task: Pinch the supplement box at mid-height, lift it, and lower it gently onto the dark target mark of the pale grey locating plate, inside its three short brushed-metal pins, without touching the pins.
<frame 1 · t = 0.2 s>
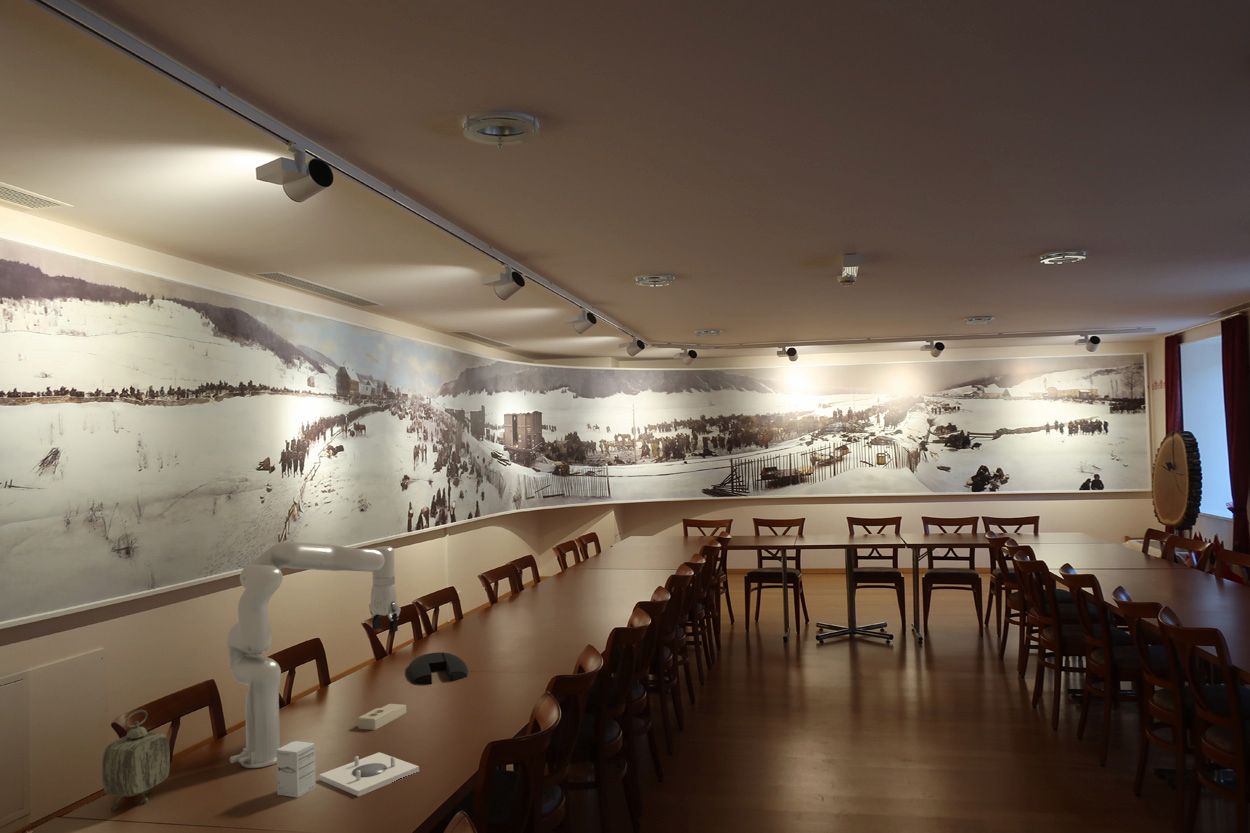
hand: (385, 630, 283), 31 cm above the table, fingers open, 9 cm apart
locating plate: (369, 775, 232), on the table
tabletop clock: (139, 803, 220), on the table
electrical outlet: (382, 722, 280), on the table
docking station: (436, 671, 343), on the table
supplement box: (296, 792, 223), on the table
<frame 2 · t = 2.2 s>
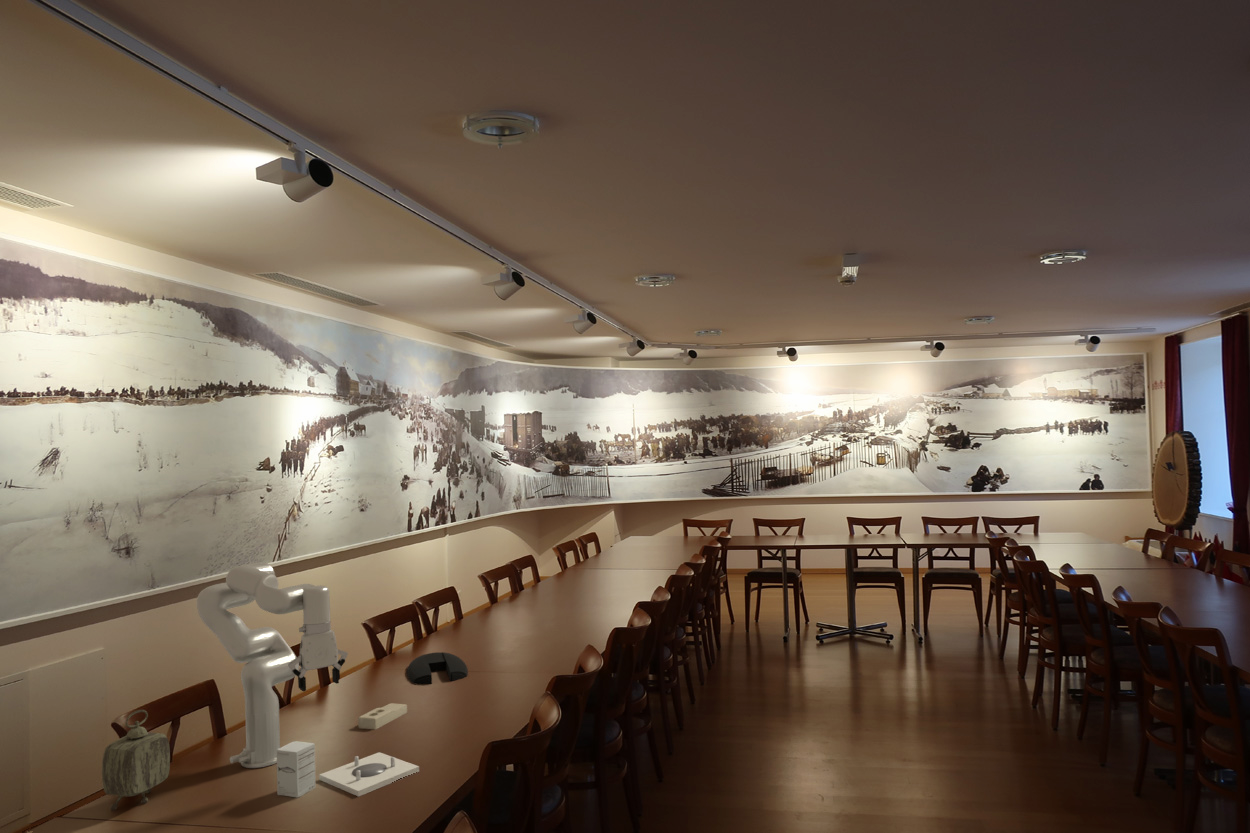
hand: (319, 686, 236), 25 cm above the table, fingers open, 9 cm apart
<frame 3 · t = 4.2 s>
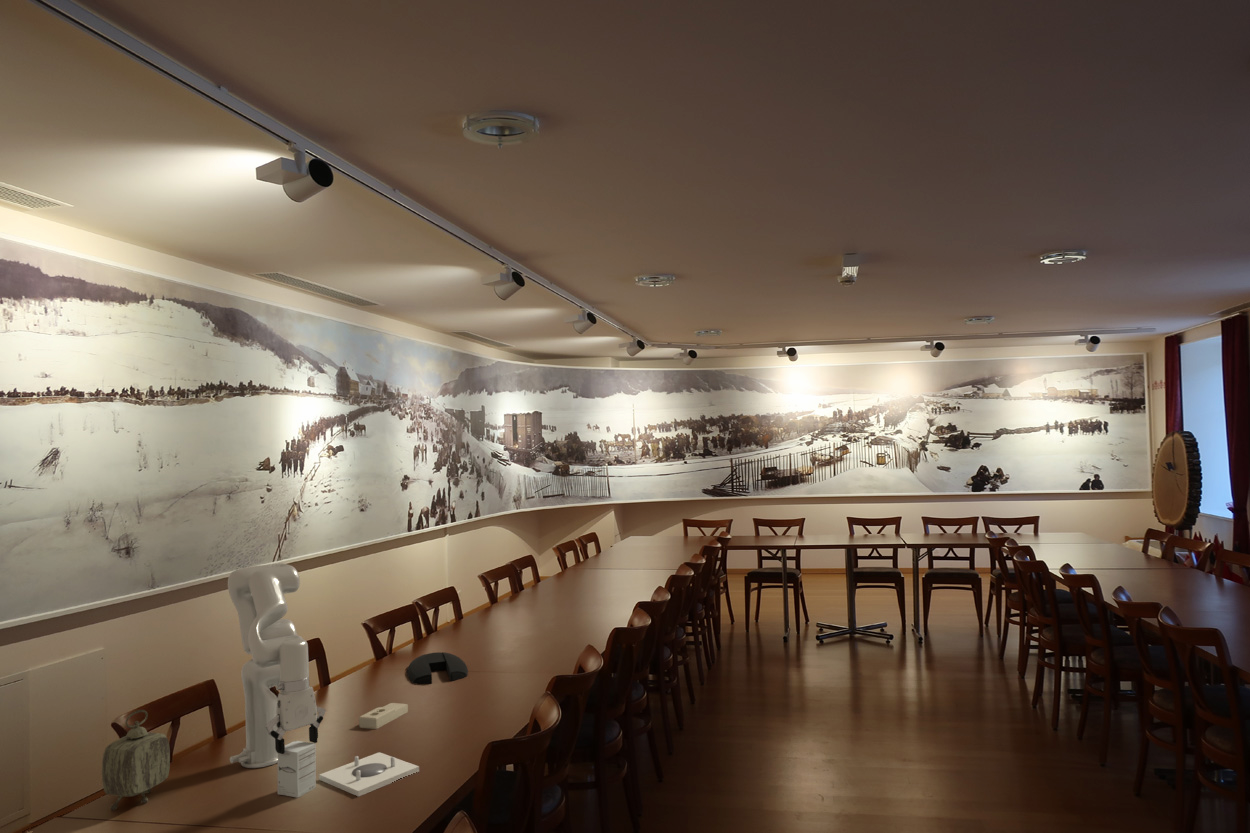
hand: (297, 747, 223), 12 cm above the table, fingers open, 9 cm apart
supplement box: (296, 792, 223), on the table, touching gripper
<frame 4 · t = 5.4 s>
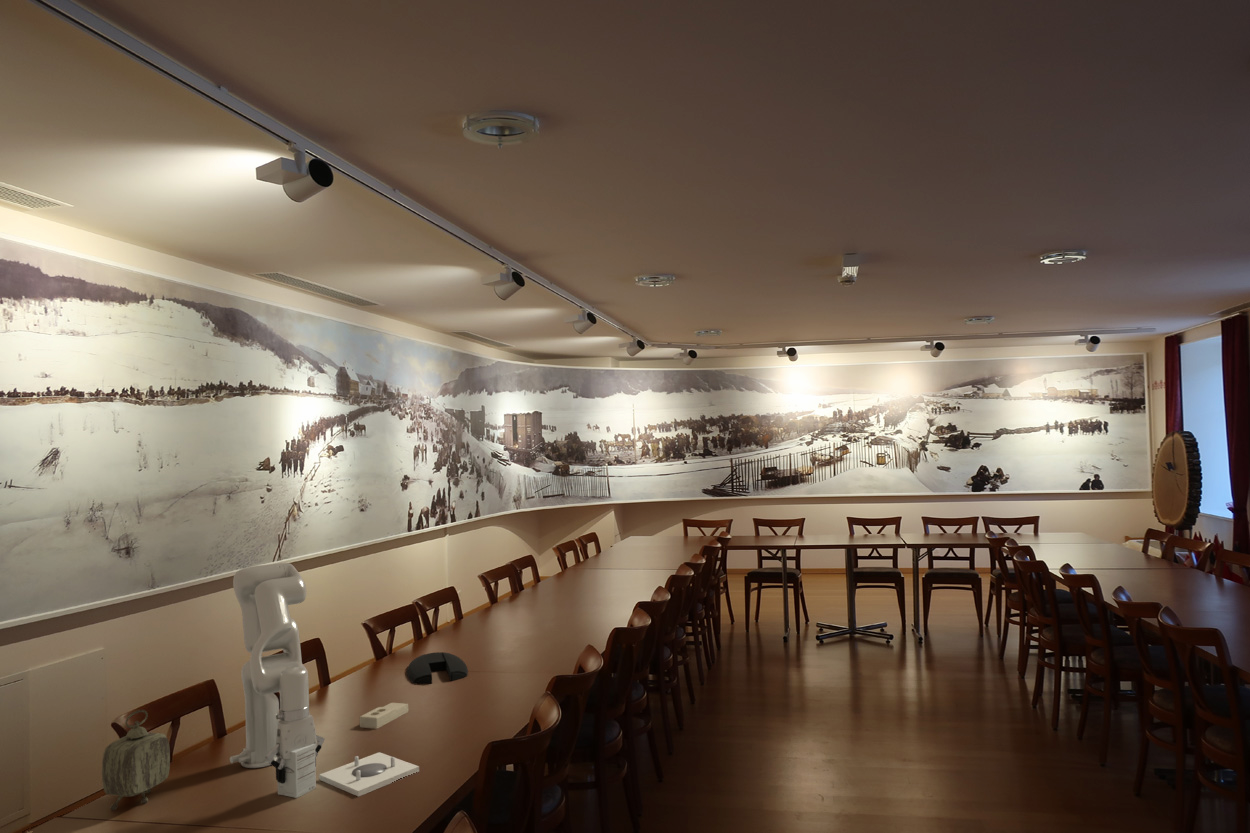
hand: (296, 776, 223), 4 cm above the table, fingers closed on supplement box, 8 cm apart
supplement box: (297, 792, 223), on the table, touching gripper
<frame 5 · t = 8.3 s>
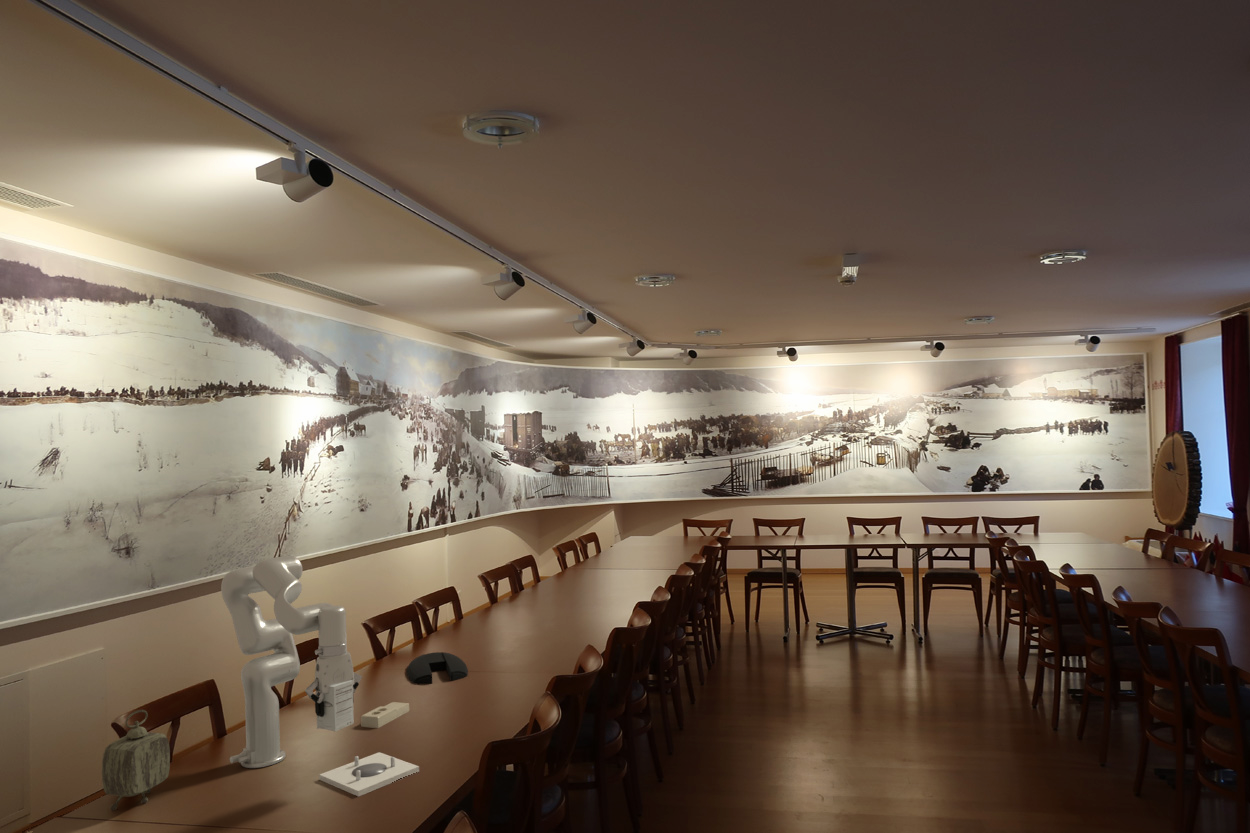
hand: (334, 711, 228), 20 cm above the table, fingers closed on supplement box, 8 cm apart
supplement box: (335, 727, 228), point 16 cm above the table, touching gripper
when the fingers open (7 cm above the table, at t = 11.3 s): supplement box stays where it is, resting on locating plate.
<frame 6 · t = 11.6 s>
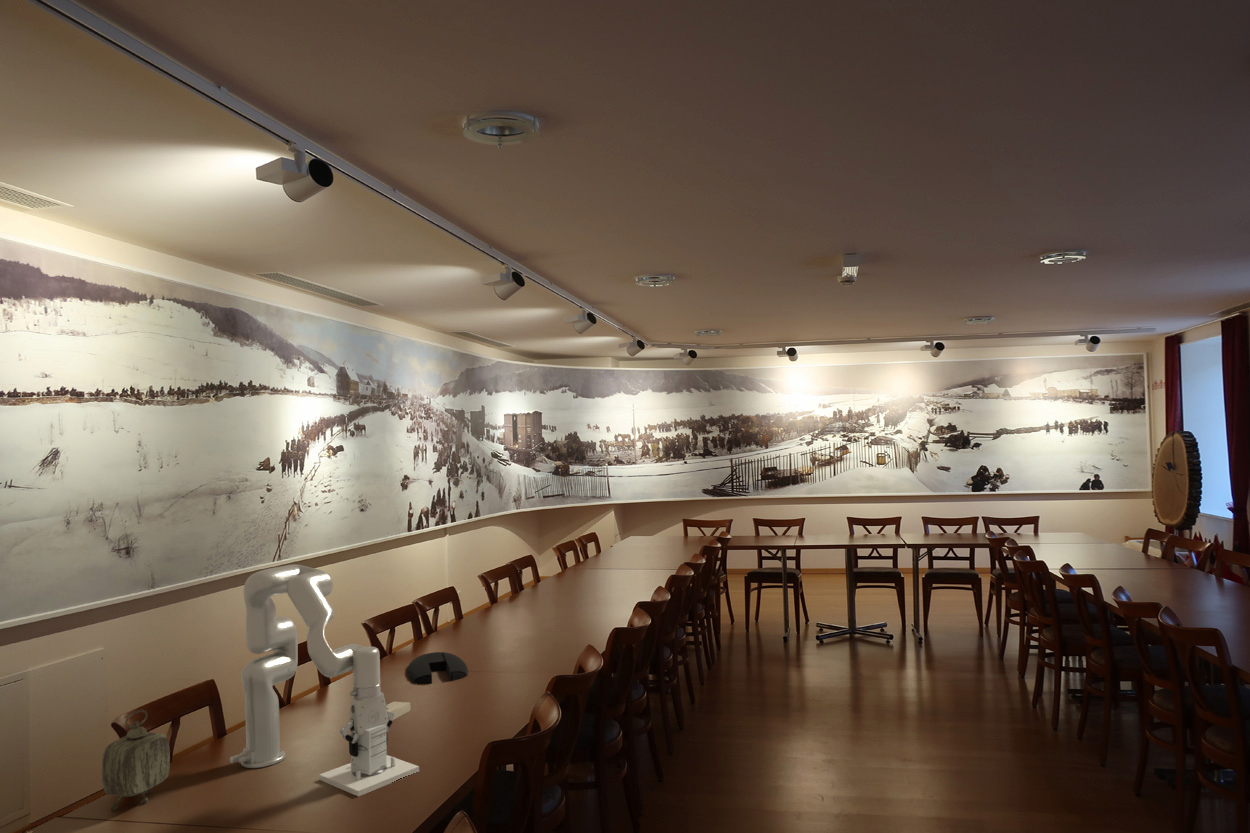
hand: (368, 750, 232), 7 cm above the table, fingers open, 9 cm apart
supplement box: (369, 770, 232), point 2 cm above the table, touching locating plate
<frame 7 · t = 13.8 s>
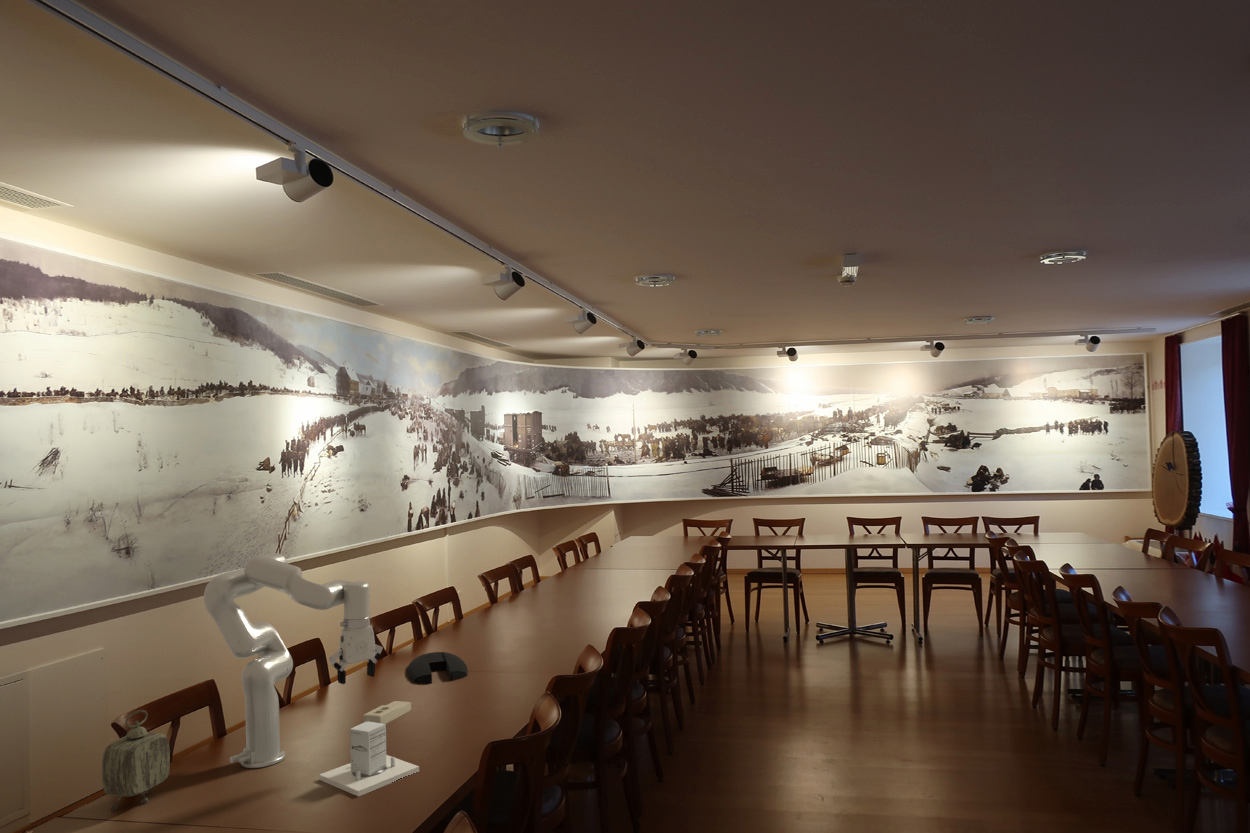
hand: (356, 679, 243), 25 cm above the table, fingers open, 9 cm apart
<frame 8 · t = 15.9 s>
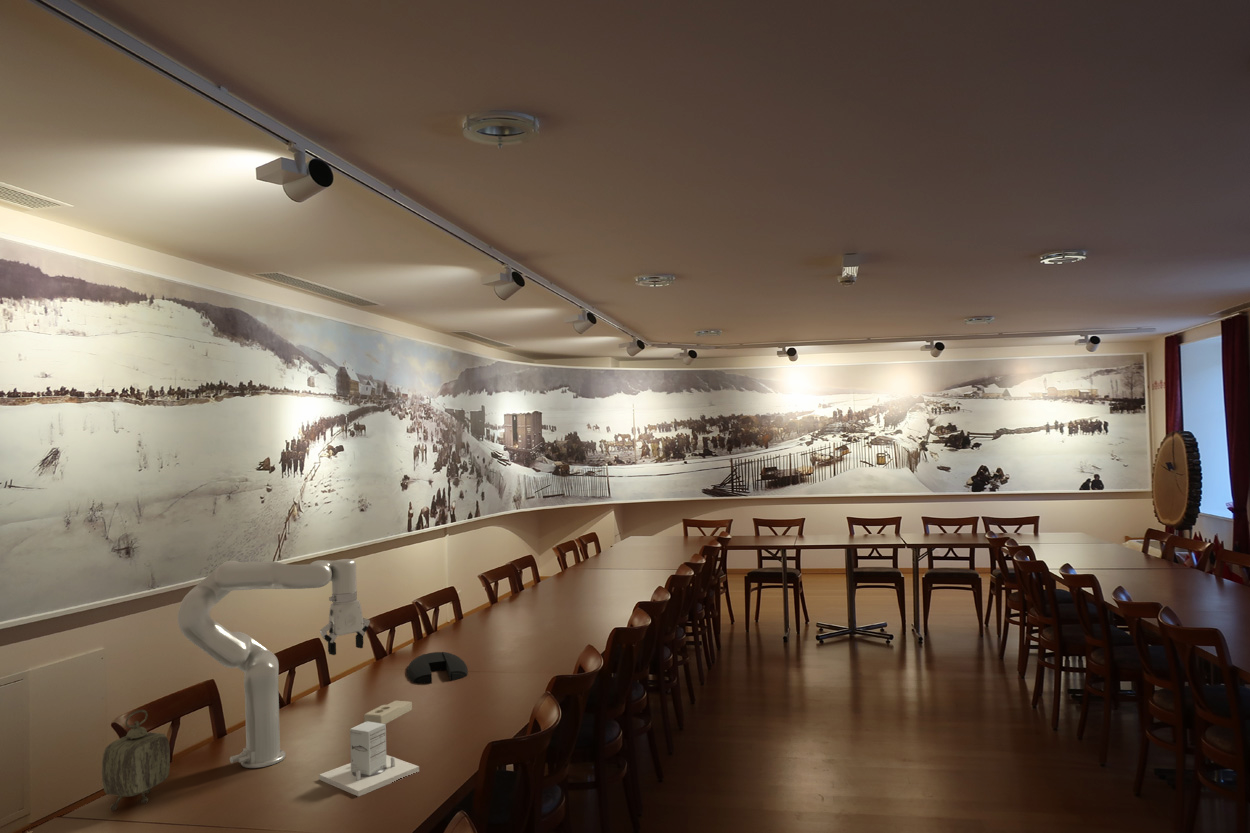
hand: (346, 651, 258), 30 cm above the table, fingers open, 9 cm apart
at the end: supplement box 0.1 cm off-centre on the locating plate, point 1.5 cm above the locating plate's base; supplement box tilted 0°; the gripper is holding nothing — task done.
